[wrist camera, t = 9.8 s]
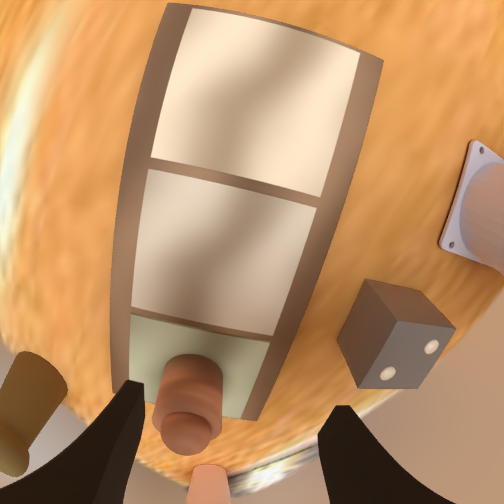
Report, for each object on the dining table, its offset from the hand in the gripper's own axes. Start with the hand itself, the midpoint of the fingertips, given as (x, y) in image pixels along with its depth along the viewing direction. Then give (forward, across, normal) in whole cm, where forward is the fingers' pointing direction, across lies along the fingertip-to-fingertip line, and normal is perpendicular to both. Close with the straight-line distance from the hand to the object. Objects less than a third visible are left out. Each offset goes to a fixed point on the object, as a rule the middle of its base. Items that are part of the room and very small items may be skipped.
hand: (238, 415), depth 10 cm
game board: (+9, +2, -2) cm, 10 cm away
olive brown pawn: (+9, +16, +13) cm, 23 cm away
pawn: (+8, +2, +7) cm, 11 cm away
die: (+10, -10, 0) cm, 14 cm away
